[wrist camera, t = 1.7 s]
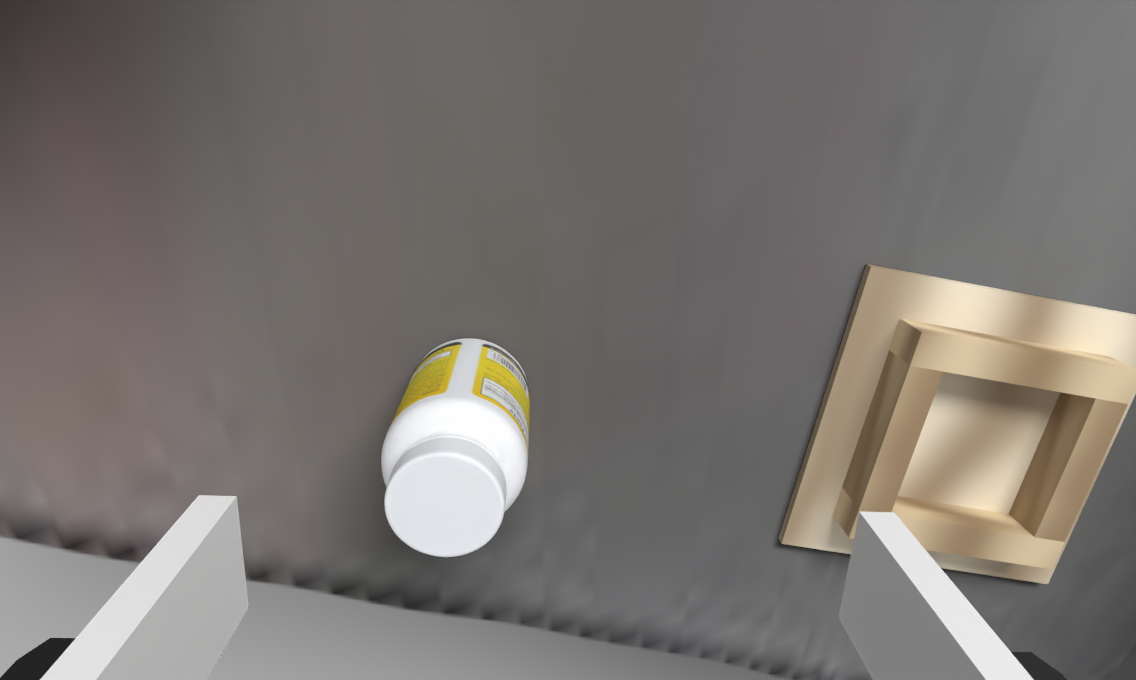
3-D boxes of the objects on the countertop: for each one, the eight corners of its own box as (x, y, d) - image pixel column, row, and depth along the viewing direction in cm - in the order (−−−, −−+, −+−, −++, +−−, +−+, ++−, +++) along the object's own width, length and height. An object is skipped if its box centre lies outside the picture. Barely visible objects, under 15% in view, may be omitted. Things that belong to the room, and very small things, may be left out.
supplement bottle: (406, 438, 34) (355, 566, 25) (416, 328, 33) (364, 421, 23) (523, 452, 35) (514, 583, 25) (538, 343, 33) (535, 441, 24)
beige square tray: (778, 538, 37) (794, 568, 34) (866, 263, 32) (891, 277, 30) (1041, 578, 38) (1074, 610, 35) (1159, 319, 33) (1206, 336, 31)
